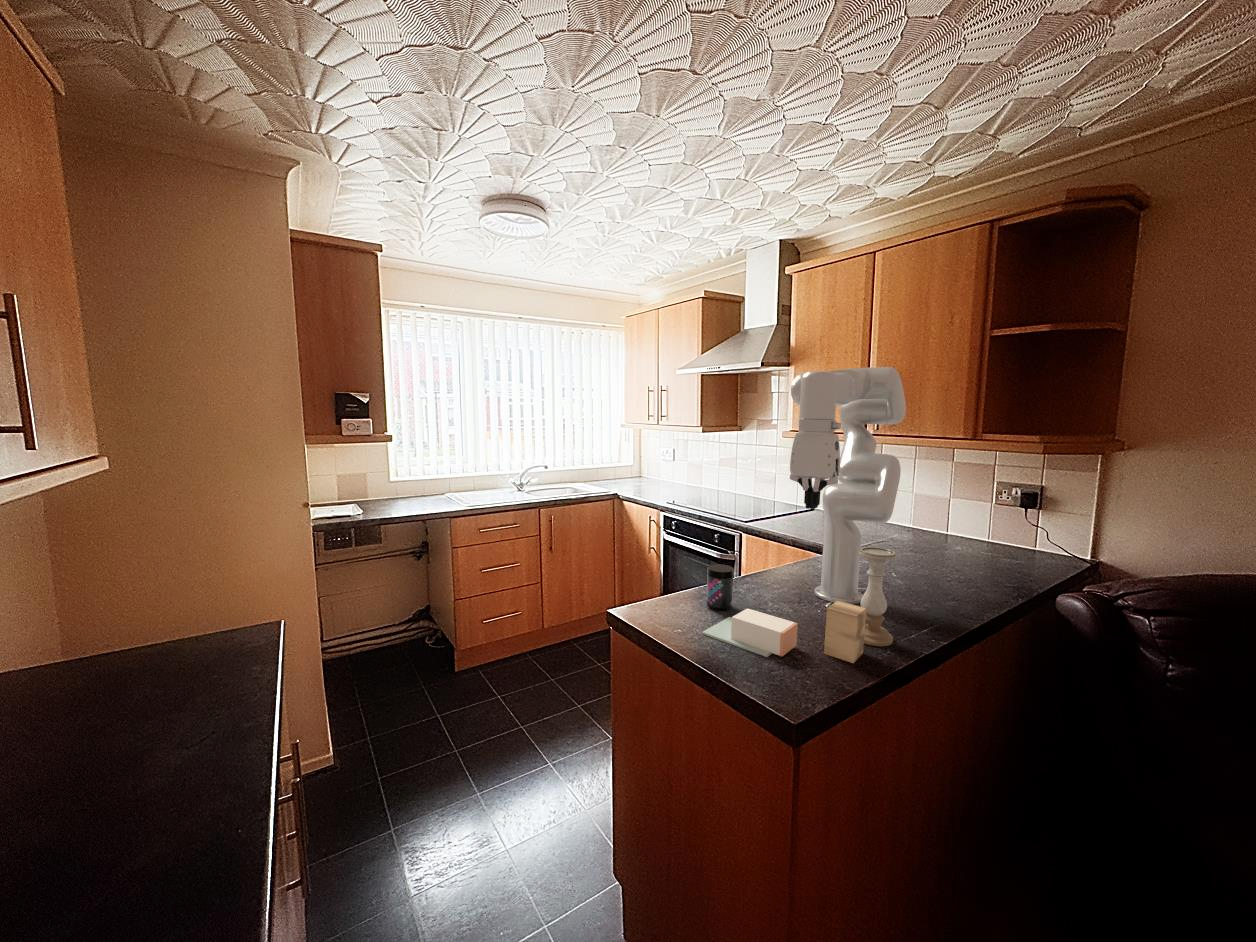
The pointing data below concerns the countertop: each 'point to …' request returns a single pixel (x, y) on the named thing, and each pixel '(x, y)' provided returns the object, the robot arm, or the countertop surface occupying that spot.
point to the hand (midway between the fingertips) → (811, 507)
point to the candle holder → (875, 596)
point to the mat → (724, 634)
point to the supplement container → (720, 587)
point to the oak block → (845, 631)
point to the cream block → (764, 631)
